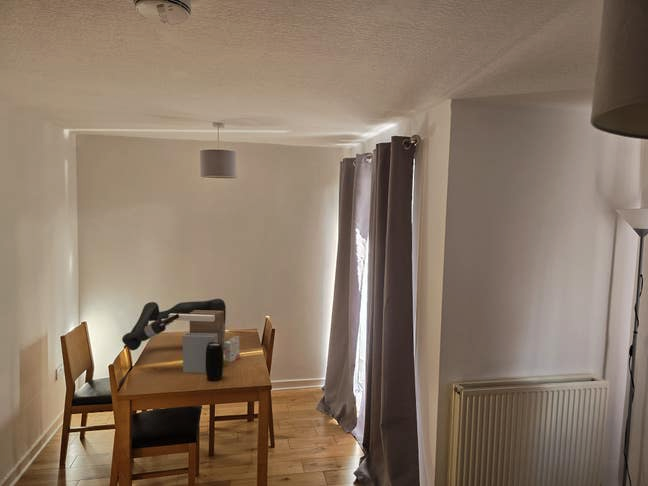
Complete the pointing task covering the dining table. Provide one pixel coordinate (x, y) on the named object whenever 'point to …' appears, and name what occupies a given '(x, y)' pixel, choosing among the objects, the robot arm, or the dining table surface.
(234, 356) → the ink cartridge box
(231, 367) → the dining table surface
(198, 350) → the grey stand
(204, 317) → the cream bar
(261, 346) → the dining table surface
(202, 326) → the walnut pedestal
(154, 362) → the dining table surface
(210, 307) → the robot arm
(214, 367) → the portable speaker
